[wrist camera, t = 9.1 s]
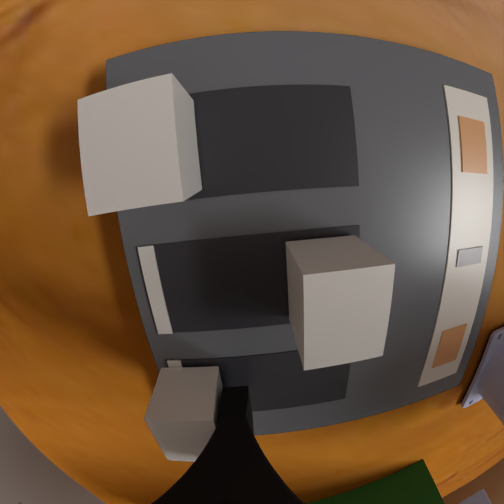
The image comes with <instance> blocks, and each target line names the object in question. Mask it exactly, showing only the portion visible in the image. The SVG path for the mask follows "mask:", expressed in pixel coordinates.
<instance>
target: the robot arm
mask: <svg viewBox="0 0 504 504" xmlns="http://www.w3.org/2000/svg"><path fill="white" fill-rule="evenodd" d="M481 399H484V400H485V402H486V403H487V404H488V405H489V407H490V408H491V409H492V410H493V412H494V413H495V414H496V416H497V417H498V418H499V419H500V421H501V422H502V423H503V425H504V327H502V328H499V329H497V330H495V331H493V332H492V334H491V335H490V337H489V340H488V343H487V346H486V349H485V351H484V354H483V357H482V359H481V362H480V364H479V367H478V369H477V371H476V374H475V376H474V378H473V380H472V383H471V385H470V387H469V389H468V391H467V393H466V395H465V397H464V399H463V401H462V404H461V406H462V407H463V408H466V407H468V406H470V405H471V404H473V403H475V402H477V401H479V400H481ZM18 504H21V503H20V502H19V503H18ZM152 504H304V503H303V502H302V501H301V500H300V499H299V498H298V497H297V496H296V495H295V494H294V493H293V492H292V491H291V490H290V489H289V488H288V486H287V485H286V484H285V483H284V482H283V480H282V479H281V478H280V476H279V475H278V474H277V473H276V471H275V470H274V469H273V467H272V466H271V464H270V463H269V461H268V460H267V458H266V457H265V455H264V453H263V452H262V450H261V448H260V446H259V444H258V443H257V441H256V439H255V437H254V427H253V414H252V407H251V401H250V394H249V387H248V386H237V387H223V388H222V393H221V398H220V420H219V423H218V425H217V427H216V429H215V430H214V432H213V434H212V436H211V438H210V439H209V441H208V443H207V444H206V446H205V448H204V449H203V451H202V452H201V453H200V455H199V456H198V458H197V459H196V460H195V462H194V463H193V464H192V465H191V467H190V468H189V469H188V470H187V471H186V473H185V474H184V475H183V476H182V477H181V478H180V479H179V480H178V481H177V482H176V483H175V484H174V485H173V486H172V487H171V488H170V489H169V490H168V491H167V492H166V493H164V494H163V495H162V496H161V497H160V498H158V499H157V500H156V501H154V502H153V503H152ZM459 504H491V502H490V500H489V498H488V496H487V494H486V492H485V491H484V489H481V490H480V491H478V492H477V493H475V494H473V495H472V496H471V497H469V498H467V499H465V500H464V501H462V502H461V503H459Z"/></svg>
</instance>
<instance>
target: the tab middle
mask: <svg viewBox="0 0 504 504" xmlns="http://www.w3.org/2000/svg"><path fill="white" fill-rule="evenodd" d="M285 244H286V261H287V281H288V303H289V320H290V324H291V327H292V331H293V334H294V338H295V341H296V345H297V348H298V352H299V355H300V359H301V362H302V366H303V369H304V370H311V369H318V368H324V367H330V366H335V365H341V364H346V363H351V362H356V361H361V360H366V359H370V358H375V357H379V356H383V351H384V346H385V340H386V335H387V328H388V322H389V315H390V308H391V301H392V292H393V283H394V273H395V263H393V262H392V261H391V260H389V259H388V258H387V257H385V256H384V255H382V254H381V253H380V252H378V251H377V250H375V249H374V248H373V247H371V246H370V245H368V244H367V243H365V242H364V241H363V240H361V239H360V238H358V237H357V236H355V235H352V236H341V237H330V238H319V239H308V240H298V241H287V242H285Z"/></svg>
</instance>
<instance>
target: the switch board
mask: <svg viewBox="0 0 504 504" xmlns="http://www.w3.org/2000/svg"><path fill="white" fill-rule="evenodd" d="M170 73H172V74H173V75H174V76H175V78H176V79H177V80H178V81H179V83H180V84H181V85H182V86H183V88H184V89H185V90H186V91H187V93H188V94H189V95H190V96H191V98H192V99H193V100H194V112H195V124H196V135H197V146H198V156H199V165H200V175H201V184H202V190H201V191H199V192H198V193H196V194H194V195H193V196H191V197H190V198H188V199H187V200H185V201H183V202H175V203H168V204H161V205H154V206H147V207H141V208H134V209H128V210H122V211H117V213H118V219H119V225H120V230H121V236H122V241H123V246H124V251H125V255H126V260H127V264H128V269H129V273H130V277H131V281H132V285H133V289H134V293H135V297H136V301H137V305H138V308H139V312H140V315H141V319H142V322H143V326H144V329H145V332H146V335H147V339H148V342H149V345H150V348H151V351H152V354H153V357H154V360H155V363H156V366H157V368H158V371H159V373H160V370H161V368H182V367H212V366H218V367H219V372H220V376H221V381H222V385H223V387H237V386H248V387H249V394H250V401H251V407H252V414H253V427H254V435H265V434H275V433H284V432H292V431H299V430H306V429H312V428H318V427H323V426H329V425H334V424H339V423H343V422H348V421H352V420H356V419H360V418H364V417H368V416H372V415H376V414H379V413H383V412H386V411H390V410H393V409H396V408H399V407H403V406H406V405H409V404H412V403H415V402H417V401H420V400H423V399H426V398H428V397H431V396H434V395H436V394H439V393H441V392H444V391H446V390H448V389H451V388H453V387H455V386H458V385H460V382H461V380H462V378H463V375H464V373H465V370H466V368H467V365H468V363H469V360H470V357H471V355H472V352H473V349H474V346H475V343H476V340H477V337H478V334H479V331H480V328H481V325H482V321H483V318H484V314H485V311H486V307H487V303H488V299H489V295H490V290H491V286H492V281H493V276H494V271H495V266H496V260H497V253H498V247H499V239H500V230H501V219H502V205H503V151H502V137H501V126H500V118H499V110H498V104H497V97H496V92H495V87H494V82H493V77H492V74H490V73H488V72H486V71H483V70H481V69H479V68H476V67H474V66H471V65H468V64H466V63H463V62H460V61H458V60H455V59H452V58H449V57H446V56H443V55H440V54H436V53H433V52H430V51H426V50H423V49H419V48H415V47H411V46H407V45H403V44H398V43H393V42H389V41H383V40H378V39H372V38H366V37H359V36H352V35H343V34H333V33H320V32H300V31H267V32H246V33H234V34H223V35H215V36H207V37H200V38H194V39H188V40H182V41H177V42H172V43H167V44H163V45H158V46H154V47H150V48H146V49H142V50H138V51H135V52H131V53H128V54H124V55H121V56H118V57H115V58H112V59H108V60H106V90H108V89H111V88H114V87H117V86H121V85H124V84H128V83H132V82H135V81H139V80H143V79H147V78H152V77H156V76H161V75H165V74H170ZM352 235H355V236H357V237H358V238H360V239H361V240H363V241H364V242H365V243H367V244H368V245H370V246H371V247H373V248H374V249H375V250H377V251H378V252H380V253H381V254H382V255H384V256H385V257H387V258H388V259H389V260H391V261H392V262H393V263H395V273H394V283H393V292H392V301H391V308H390V315H389V322H388V328H387V335H386V340H385V346H384V351H383V356H379V357H375V358H370V359H366V360H361V361H356V362H351V363H346V364H341V365H335V366H330V367H324V368H318V369H311V370H304V369H303V366H302V362H301V359H300V355H299V352H298V348H297V345H296V341H295V338H294V334H293V331H292V327H291V324H290V320H289V303H288V281H287V261H286V244H285V242H287V241H298V240H308V239H319V238H330V237H341V236H352Z"/></svg>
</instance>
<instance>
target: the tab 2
mask: <svg viewBox="0 0 504 504" xmlns="http://www.w3.org/2000/svg"><path fill="white" fill-rule="evenodd" d="M222 388H223V385H222V381H221V376H220V372H219V367H218V366H212V367H182V368H161V370H160V373H159V375H158V378H157V381H156V384H155V387H154V390H153V393H152V396H151V399H150V402H149V405H148V408H147V411H146V414H145V417H144V419H145V421H146V423H147V425H148V427H149V429H150V430H151V432H152V434H153V436H154V437H155V439H156V441H157V443H158V444H159V446H160V448H161V449H162V451H163V453H164V454H165V456H166V458H167V459H168V460H174V461H191V462H195V460H196V459H197V458H198V456H199V455H200V453H201V452H202V451H203V449H204V448H205V446H206V444H207V443H208V441H209V439H210V438H211V436H212V434H213V432H214V430H215V429H216V427H217V425H218V423H219V420H220V398H221V393H222Z"/></svg>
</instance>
